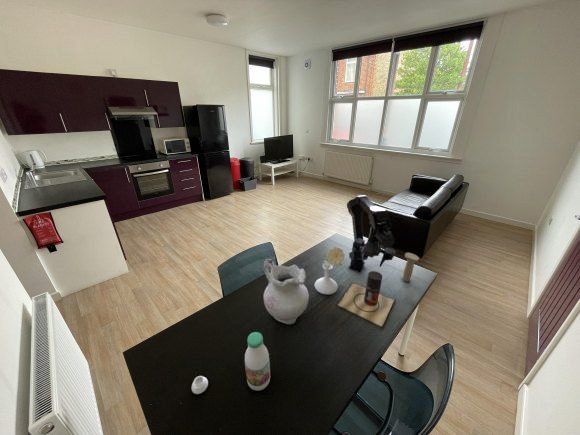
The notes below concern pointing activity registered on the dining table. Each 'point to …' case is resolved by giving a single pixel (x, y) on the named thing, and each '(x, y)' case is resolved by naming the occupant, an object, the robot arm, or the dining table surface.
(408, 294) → the dining table surface
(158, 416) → the dining table surface
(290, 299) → the ceramic pitcher
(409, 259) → the handle
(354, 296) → the circle mat
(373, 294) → the deodorant
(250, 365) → the milk bottle
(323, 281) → the flower in vase
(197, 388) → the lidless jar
